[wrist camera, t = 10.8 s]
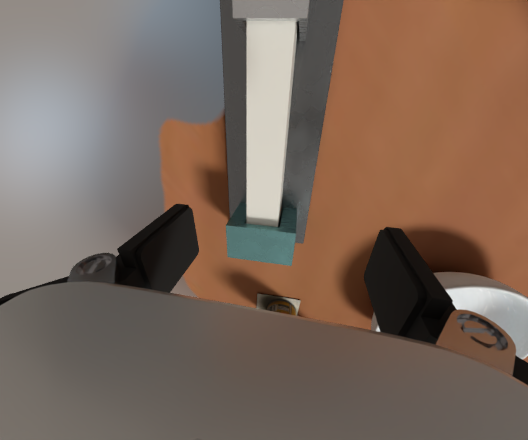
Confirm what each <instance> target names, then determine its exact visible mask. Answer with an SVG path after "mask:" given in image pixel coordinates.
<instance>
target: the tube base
mask: <svg viewBox="0 0 528 440" xmlns="http://www.w3.org/2000/svg"><path fill="white" fill-rule="evenodd" d="M342 6H343V0H220V9H221V32H222V54H223V77H224V98H225V121H226V143H227V165H228V187H229V209H230V220H229V221H228V223H227V224H226V236H227V253H228V257H231V258H238V259H246V260H253V261H260V262H268V263H275V264H282V265H289V266H292V259H293V252H294V245H295V243H303V242H304V236H305V229H306V223H307V217H308V211H309V205H310V199H311V193H312V187H313V181H314V175H315V169H316V163H317V157H318V151H319V145H320V139H321V133H322V127H323V121H324V115H325V109H326V103H327V97H328V91H329V85H330V78H331V72H332V66H333V60H334V54H335V48H336V42H337V36H338V30H339V24H340V18H341V12H342ZM247 21H298V30H297V41H296V52H295V63H294V74H293V85H292V95H291V106H290V117H289V128H288V139H287V150H286V161H285V172H284V183H283V194H282V204H281V215H280V225H279V227H272V226H264V225H255V224H247Z"/></svg>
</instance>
